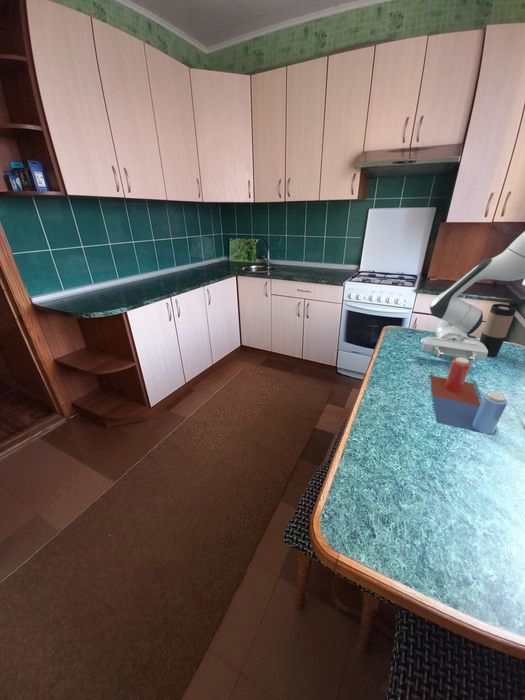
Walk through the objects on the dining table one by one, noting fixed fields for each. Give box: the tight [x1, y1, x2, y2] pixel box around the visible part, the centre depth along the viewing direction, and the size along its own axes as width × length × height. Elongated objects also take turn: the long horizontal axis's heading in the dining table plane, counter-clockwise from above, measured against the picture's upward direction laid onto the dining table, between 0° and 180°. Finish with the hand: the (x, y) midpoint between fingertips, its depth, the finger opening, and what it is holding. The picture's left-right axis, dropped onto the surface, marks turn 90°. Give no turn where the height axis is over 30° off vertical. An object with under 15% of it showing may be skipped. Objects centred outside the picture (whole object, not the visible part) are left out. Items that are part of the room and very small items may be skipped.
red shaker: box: [444, 356, 472, 392], centre depth 95 cm, size 5×5×11 cm
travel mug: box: [479, 303, 517, 358], centre depth 115 cm, size 8×8×20 cm
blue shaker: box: [472, 391, 508, 435], centre depth 78 cm, size 5×5×11 cm
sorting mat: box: [430, 375, 492, 436], centre depth 91 cm, size 13×27×1 cm, turn 156°
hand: (455, 357), depth 101 cm, fingers open, 8 cm apart
